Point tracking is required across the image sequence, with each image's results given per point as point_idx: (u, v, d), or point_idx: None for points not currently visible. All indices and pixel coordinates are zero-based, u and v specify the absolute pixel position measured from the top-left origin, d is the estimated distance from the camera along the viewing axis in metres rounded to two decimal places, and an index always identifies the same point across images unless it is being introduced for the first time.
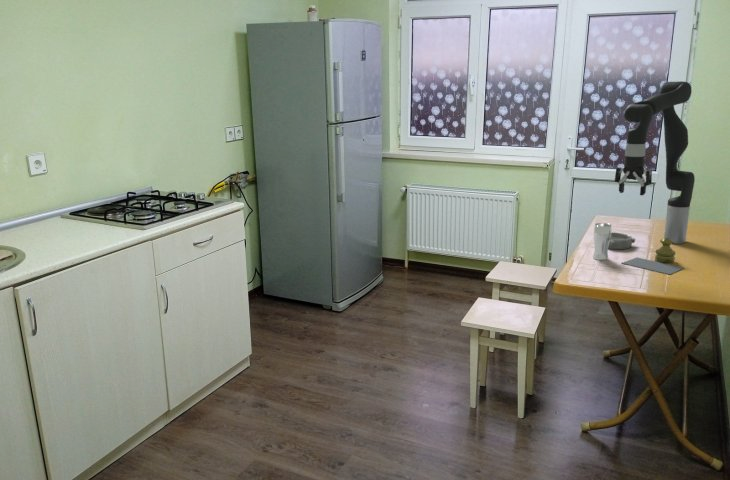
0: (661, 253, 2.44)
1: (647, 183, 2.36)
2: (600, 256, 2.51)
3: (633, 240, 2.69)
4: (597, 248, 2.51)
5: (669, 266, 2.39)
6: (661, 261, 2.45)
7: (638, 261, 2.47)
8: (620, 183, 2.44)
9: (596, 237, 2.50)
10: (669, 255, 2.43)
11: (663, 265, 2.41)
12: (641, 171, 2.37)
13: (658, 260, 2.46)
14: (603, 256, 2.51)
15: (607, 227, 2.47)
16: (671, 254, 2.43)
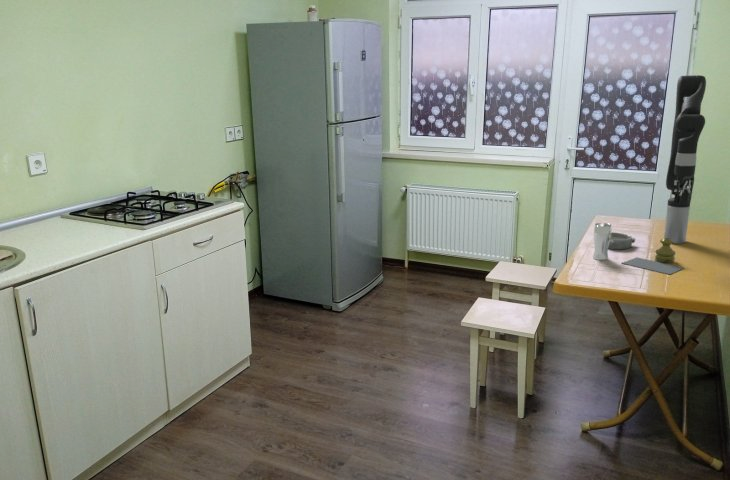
0: (661, 253, 2.44)
1: (692, 189, 2.48)
2: (600, 256, 2.51)
3: (633, 240, 2.69)
4: (597, 248, 2.51)
5: (669, 266, 2.39)
6: (661, 261, 2.45)
7: (638, 261, 2.47)
8: (680, 195, 2.42)
9: (596, 237, 2.50)
10: (669, 255, 2.43)
11: (663, 265, 2.41)
12: (690, 178, 2.45)
13: (658, 260, 2.46)
14: (603, 256, 2.51)
15: (607, 227, 2.47)
16: (671, 254, 2.43)
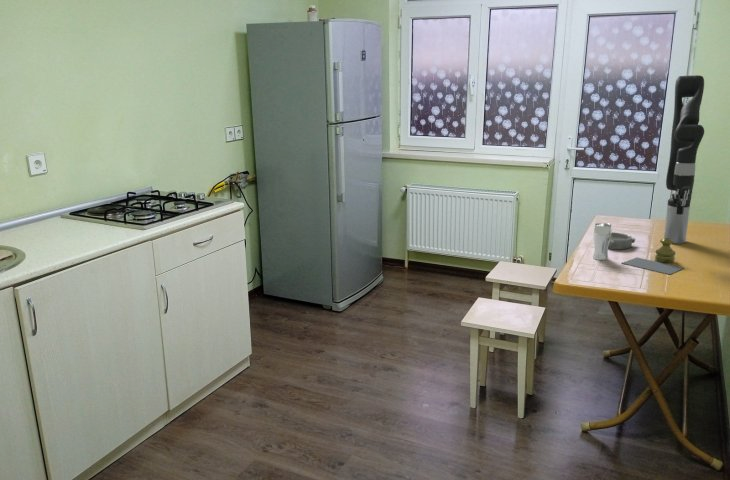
0: (661, 253, 2.44)
1: (687, 201, 2.47)
2: (600, 256, 2.51)
3: (633, 240, 2.69)
4: (597, 248, 2.51)
5: (669, 266, 2.39)
6: (661, 261, 2.45)
7: (638, 261, 2.47)
8: (683, 204, 2.46)
9: (596, 237, 2.50)
10: (669, 255, 2.43)
11: (663, 265, 2.41)
12: (689, 189, 2.46)
13: (658, 260, 2.46)
14: (603, 256, 2.51)
15: (607, 227, 2.47)
16: (671, 254, 2.43)
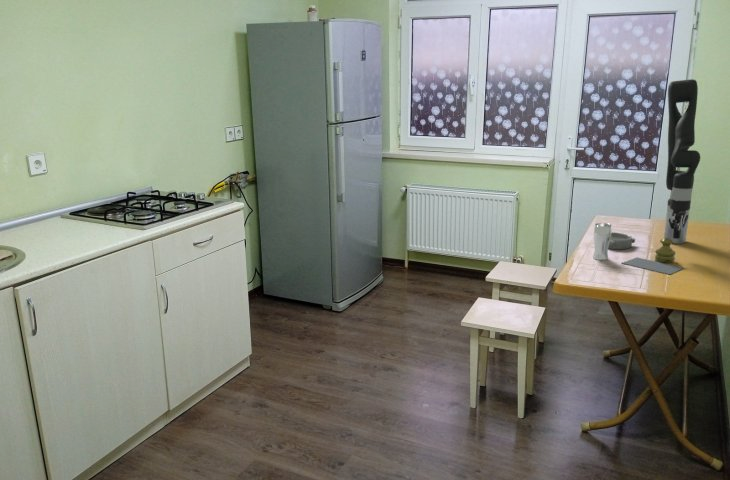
0: (661, 253, 2.44)
1: (683, 225, 2.49)
2: (600, 256, 2.51)
3: (633, 240, 2.69)
4: (597, 248, 2.51)
5: (669, 266, 2.39)
6: (661, 261, 2.45)
7: (638, 261, 2.47)
8: (680, 229, 2.48)
9: (596, 237, 2.50)
10: (669, 255, 2.43)
11: (663, 265, 2.41)
12: (685, 213, 2.49)
13: (658, 260, 2.46)
14: (603, 256, 2.51)
15: (607, 227, 2.47)
16: (671, 254, 2.43)
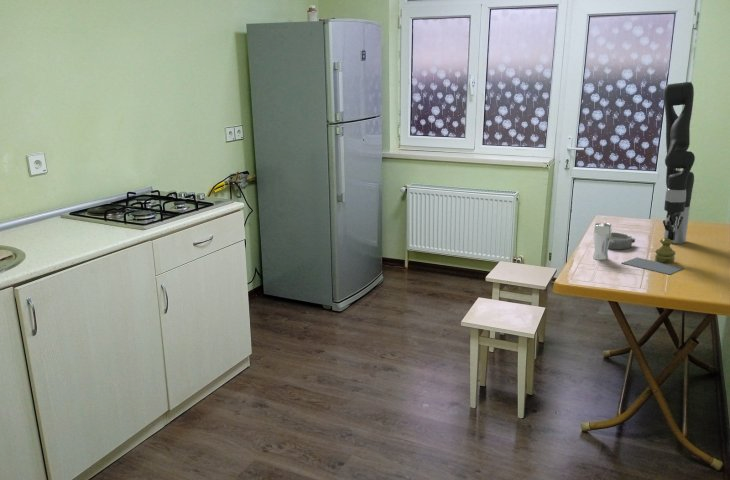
0: (661, 253, 2.44)
1: (678, 227, 2.46)
2: (600, 256, 2.51)
3: (633, 240, 2.69)
4: (597, 248, 2.51)
5: (669, 266, 2.39)
6: (661, 261, 2.45)
7: (638, 261, 2.47)
8: (674, 230, 2.45)
9: (596, 237, 2.50)
10: (669, 255, 2.43)
11: (663, 265, 2.41)
12: (680, 214, 2.46)
13: (658, 260, 2.46)
14: (603, 256, 2.51)
15: (607, 227, 2.47)
16: (671, 254, 2.43)
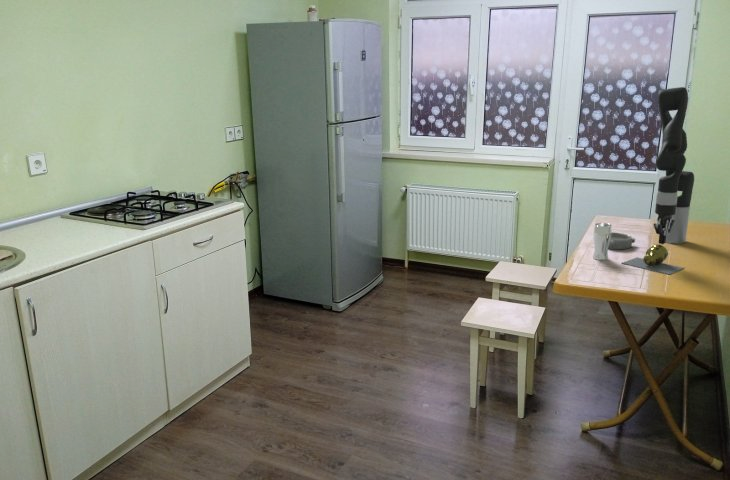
0: None
1: (669, 230, 2.42)
2: (600, 256, 2.51)
3: (633, 240, 2.69)
4: (597, 248, 2.51)
5: (669, 266, 2.39)
6: None
7: (638, 261, 2.47)
8: (665, 234, 2.41)
9: (596, 237, 2.50)
10: (662, 261, 2.41)
11: (663, 265, 2.41)
12: (671, 217, 2.42)
13: None
14: (603, 256, 2.51)
15: (607, 227, 2.47)
16: (663, 260, 2.40)
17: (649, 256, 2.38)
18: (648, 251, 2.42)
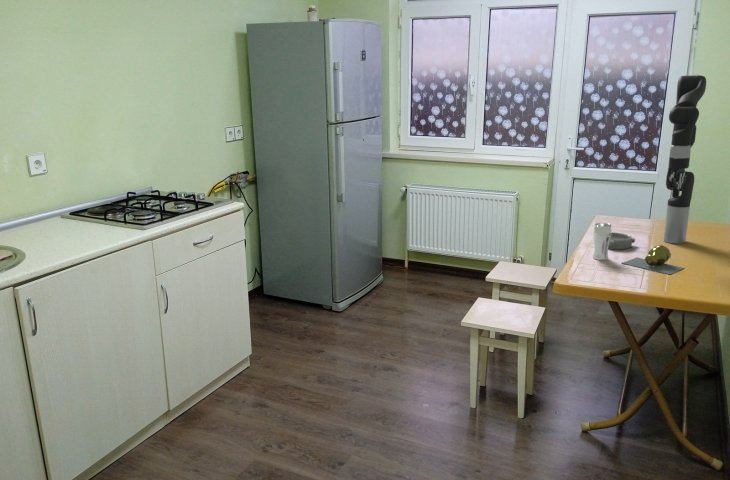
0: None
1: (682, 184, 2.46)
2: (600, 256, 2.51)
3: (633, 240, 2.69)
4: (597, 248, 2.51)
5: (669, 266, 2.39)
6: None
7: (638, 261, 2.47)
8: (679, 187, 2.44)
9: (596, 237, 2.50)
10: None
11: (663, 265, 2.41)
12: (684, 171, 2.45)
13: None
14: (603, 256, 2.51)
15: (607, 227, 2.47)
16: (664, 262, 2.40)
17: (652, 256, 2.37)
18: (652, 250, 2.41)
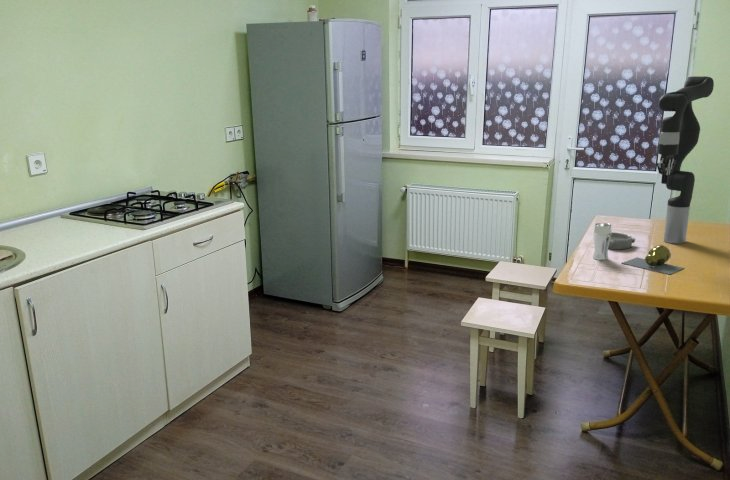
0: None
1: (671, 171, 2.50)
2: (600, 256, 2.51)
3: (633, 240, 2.69)
4: (597, 248, 2.51)
5: (669, 266, 2.39)
6: None
7: (638, 261, 2.47)
8: (667, 174, 2.49)
9: (596, 237, 2.50)
10: None
11: (663, 265, 2.41)
12: (673, 158, 2.50)
13: None
14: (603, 256, 2.51)
15: (607, 227, 2.47)
16: (664, 262, 2.40)
17: (652, 256, 2.37)
18: (652, 250, 2.41)
